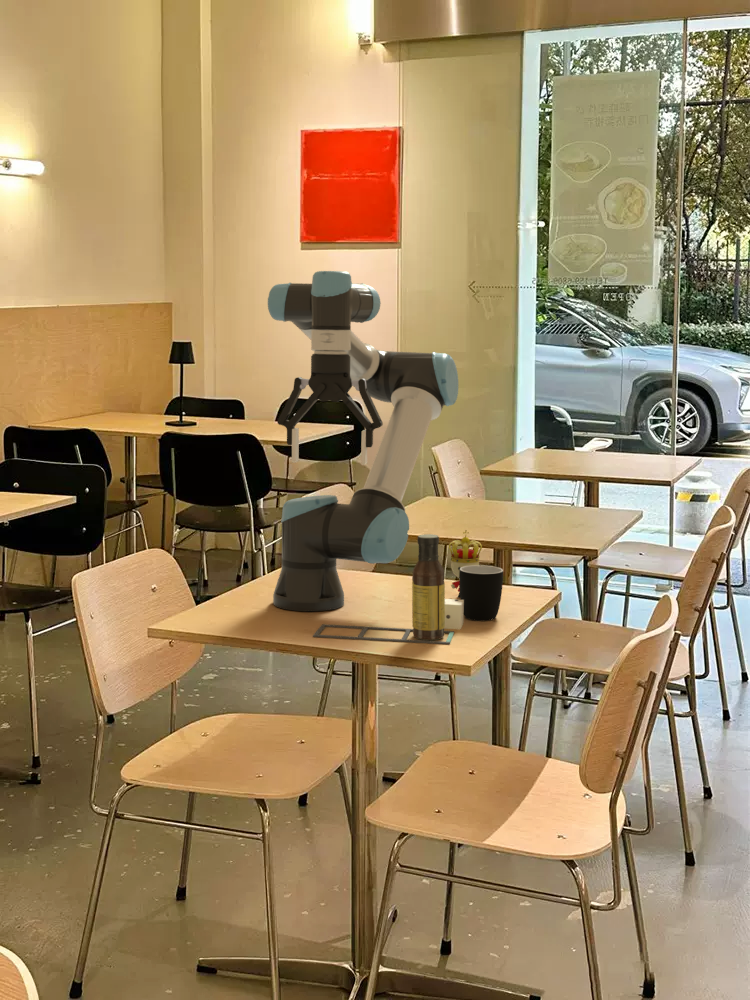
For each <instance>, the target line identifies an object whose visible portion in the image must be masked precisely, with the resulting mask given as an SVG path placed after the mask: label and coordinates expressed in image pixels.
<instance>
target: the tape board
mask: <svg viewBox="0 0 750 1000" xmlns="http://www.w3.org/2000/svg"><path fill="white" fill-rule="evenodd" d="M325 628H340V629H358V630H359V629H360V630H361V631H360V632H359V634H357V636H350V635H331V634H329V635H328V634H321V633H322V632H323V631H324V630H325ZM368 630H377V631H378V630H379V631H380V630H381V631H396V632H397V631H399V632H404V634H403V636H402V637H401V638H388V637H387V638H386V637H367V636H365V637H364V635H365V634H366V632H367V631H368ZM412 632H413V628H402V627H401V628H400V627H398V628H397V627H382V626H366V625H365V626H360V625H345V624H342V625H341V624H325V623H323V624H321V625H320V626H319V628H318V629H317V630H316V631H315V632H314V633H313V635H312V638H322V639H323V638H325V639H326V638H327V639H345V640H360V641H361V640H362V641H363V640H364V641H379V642H380V641H381V642H383V641H384V642H398V643H417V644H432V645H433V644H436V645H451V642H452V639H453V636H454V634H455V631H453V630H444V634H448V636H447V638H446V640H445V641H439V640H430V641H428V640H420V639H408V637H409V635H410V633H412Z"/></svg>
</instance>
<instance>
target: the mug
mask: <svg viewBox="0 0 750 1000" xmlns="http://www.w3.org/2000/svg"><path fill="white" fill-rule="evenodd" d="M458 579H459V580H458V581H459V586H458V589H459V590H460V597H459V598H460V600H464V613H463V617H464V618H465V619H467V620H468V621H469V620H470V621H475V622H488V621H489V622H490V621H493V620H495V619H496V617H497V616H498V613H499V611H500V605H501V600H502V592H503V585H504V584H503V583H504V570H503V568H501V567H498V566H492V565H480V564H479V565H472V566H464V567H461V568H460V571H459V578H458Z"/></svg>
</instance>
